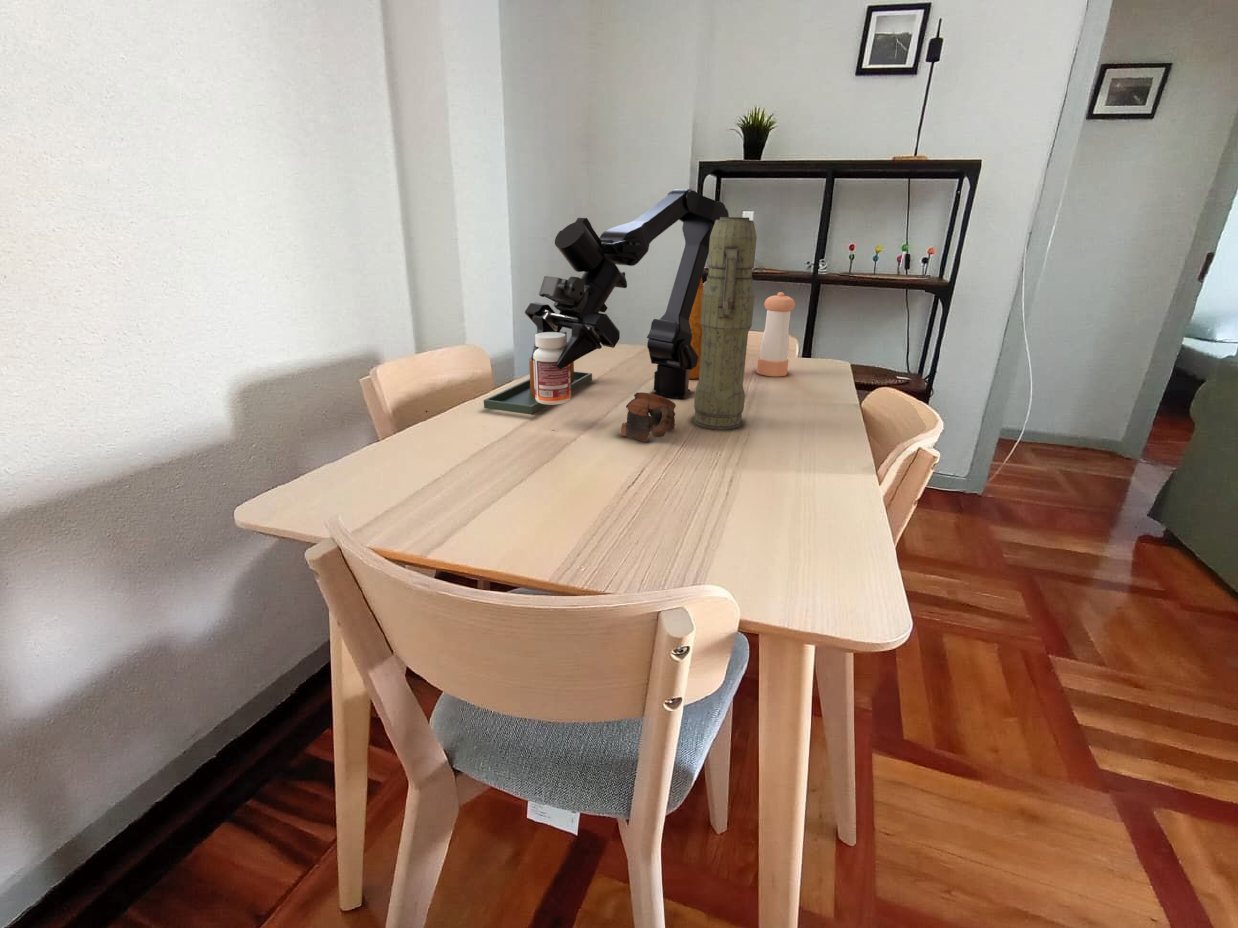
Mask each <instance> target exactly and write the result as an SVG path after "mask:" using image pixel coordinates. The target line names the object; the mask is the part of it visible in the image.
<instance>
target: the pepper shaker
mask: <svg viewBox="0 0 1238 928" xmlns="http://www.w3.org/2000/svg"><path fill="white" fill-rule="evenodd" d="M763 304H764V308H765V310H766V316H765V324H764V325H765V326H764V330H763V333H762V337H761V342H760V349H759V356H758V358H757V362H756V363H757V364H756V374H758V375H761V376H766V377H784V376H787V374H788V368H789V359H788V356H789V349H790V322H791V312H792V311H794V309H795V307H796V302H795V300H794V298H792V297H791V296H788V295H785V293H784V292H783V291H779V292H778V293H776V295H771V296H768V297H767V298H766V299H765V300H764V303H763Z"/></svg>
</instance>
